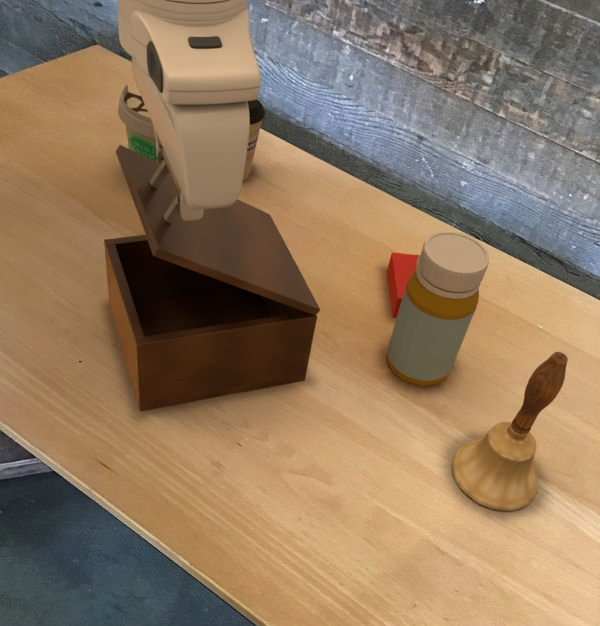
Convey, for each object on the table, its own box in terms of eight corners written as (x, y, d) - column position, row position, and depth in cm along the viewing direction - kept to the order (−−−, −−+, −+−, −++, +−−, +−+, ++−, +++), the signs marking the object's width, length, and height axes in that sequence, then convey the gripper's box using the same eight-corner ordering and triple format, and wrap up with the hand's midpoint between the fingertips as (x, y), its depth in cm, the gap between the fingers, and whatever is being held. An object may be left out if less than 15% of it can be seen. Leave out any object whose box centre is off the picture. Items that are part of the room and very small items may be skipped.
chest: (139, 411, 72) (136, 345, 65) (109, 307, 80) (103, 239, 74) (305, 380, 77) (317, 316, 70) (259, 286, 86) (267, 220, 79)
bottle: (459, 359, 82) (505, 248, 71) (433, 399, 77) (477, 287, 66) (402, 332, 84) (437, 218, 72) (373, 368, 79) (406, 254, 68)
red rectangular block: (451, 322, 86) (467, 279, 81) (392, 316, 85) (405, 273, 80) (442, 276, 91) (457, 233, 86) (386, 271, 90) (398, 227, 85)
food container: (103, 180, 95) (97, 105, 87) (126, 156, 99) (122, 82, 91) (194, 209, 93) (196, 134, 86) (214, 183, 97) (217, 111, 90)
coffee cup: (195, 164, 100) (197, 92, 92) (238, 151, 103) (243, 80, 96) (227, 192, 97) (231, 119, 89) (269, 177, 100) (277, 105, 93)
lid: (153, 256, 58) (187, 206, 56) (115, 151, 67) (143, 104, 65) (315, 316, 70) (349, 276, 68) (265, 220, 79) (294, 182, 76)
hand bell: (462, 428, 75) (517, 309, 63) (543, 459, 74) (615, 343, 62) (442, 491, 70) (498, 374, 58) (529, 525, 69) (604, 412, 57)
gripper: (108, -41, 58) (116, 125, 68) (172, 94, 46) (170, 270, 57) (189, -40, 60) (185, 121, 70) (270, 90, 48) (251, 260, 59)
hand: (179, 189), depth 63 cm, fingers closed on lid, 6 cm apart
